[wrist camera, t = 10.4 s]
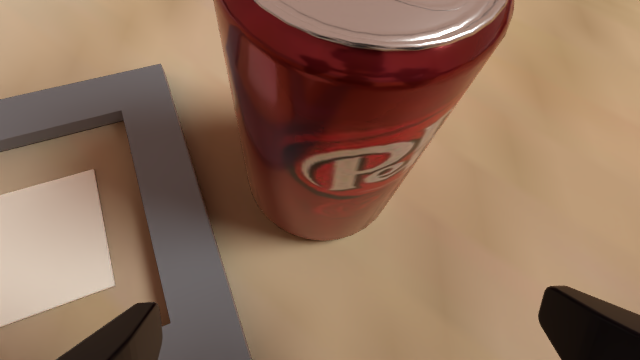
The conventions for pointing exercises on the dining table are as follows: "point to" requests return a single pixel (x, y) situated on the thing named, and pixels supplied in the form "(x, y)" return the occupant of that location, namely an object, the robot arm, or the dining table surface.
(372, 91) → the soda can
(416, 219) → the dining table surface
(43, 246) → the label frame
